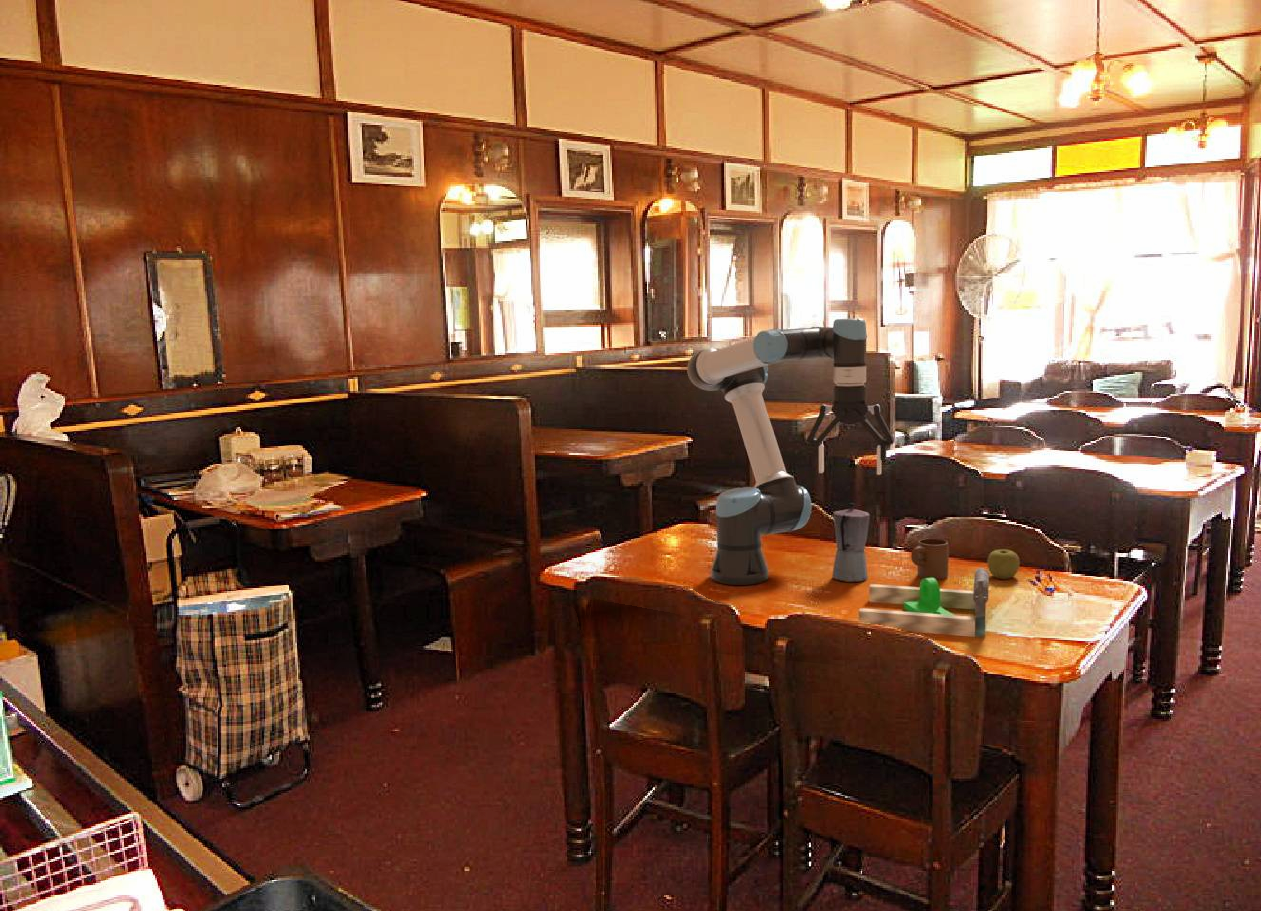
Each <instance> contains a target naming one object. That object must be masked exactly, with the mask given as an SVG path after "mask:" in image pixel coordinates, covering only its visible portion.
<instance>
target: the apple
mask: <svg viewBox="0 0 1261 911" xmlns="http://www.w3.org/2000/svg"><path fill="white" fill-rule="evenodd" d="M986 564H987V568H988V572H990V574H991V575H992V576H993V577H995V578H996V579H999V580H1000V579H1001V580H1008V579H1011V578H1013V577H1015V576H1016V574H1017V573H1018V571H1019V568H1020V564H1021V563H1020V557H1019V556H1018V554H1017V553H1016V552H1015V551H1013V550H1010V549H1005V548H1004V549H996V550H993V551H991V552H990V554H989V555H988V557H987V563H986Z"/></svg>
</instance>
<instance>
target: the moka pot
mask: <svg viewBox="0 0 1261 911" xmlns="http://www.w3.org/2000/svg"><path fill="white" fill-rule="evenodd" d="M855 505H856V504H855V503H854V502H850V503H848V506H849V508H848V509H842V510H837V511H836V510H835V511H833V513H832V515H833V521H834V522H833V524H834V534H835V541H836V548H837V549H836V553H835V558H834V564H833V569H832V570H833V571H832V577H833V579H834V580H837V581H842V582H846V583H849V582H850V583H853V582H854V583H856V582H864V581H866V580H867V579H868V577H869V576H868V567H867V559H866V551H865V549H866V544H867V539H868V534H869V533H868V532H869V526H870V525H869V524H870V518H871V515H870V513H869V512H868V511H863V510H859V509H855Z"/></svg>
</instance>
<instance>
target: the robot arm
mask: <svg viewBox="0 0 1261 911" xmlns="http://www.w3.org/2000/svg"><path fill="white" fill-rule="evenodd" d="M866 323H867V322H866V321H865V319H863V318H836V319H835V320H834V321H833V325H832V326H833V327H832V326H831V327H827V326H826V327H825V326H812V327H802V328H801V327H800V328H790V329H788V328H785V329H784V328H783V329H780V328H779V329H775V328H772V329H767V330H762V331H759V332H758V333H757V334H756V336H755V337H752V338H748V339H746V340H743V341H740V342H737V343H734V344H730V345H727V346H725V347H722V348H706V349H702V350H699V351H697V352H696V353H694V354H693V355H692V356H691V357H690V359H689V360H688V363H687V367H686V368H687V369H686V370H687V375H688V378H689V380H690V382H691V384H693V385H694V386H695V387H697V388H698V389H701V390H703V391H708V392H711V391H713V392H714V391H715V392H716V391H721V392H722V393H723V395H724V399H725V400H726V401H727V402H729V403H731V405H732V408H733V410H734V414H735V416H736V417H735V418H736V421H737V423H738V426H739V430H740V434H741V436H742V440H743V443H744V447H745V449H746V452H747V456H748V459H749V462H750V466H751V468H752V472H753V476H754V478H755V484H754V486H743V487H734V488H731V489H726V490H725V491H722V492H721V493H719V495H718V496H717V498H716V502H715V516H716V517H715V518H716V546H717V547H716V552H715V555H714V560H713V563H712V566H711V570H710V574H711V575H710V576H711V580H713V581H714V582H717V583H719V584H724V585H731V586H739V585H740V586H747V585H756V584H760V583H764V582H765V581H767V580H768V579H769V572H770V571H769V567H768V566H769V565H768V563H767V561H766V558H765V555H764V552H763V549H762V536H767V535H773V534H779V533H785V532H788V533H790V532H792V531H795V530H799V529H802V528H803V527H804V526H806V524H807V523H808V522H809V519H810V516H811V514H812V499H811V496H810V494H809V491H808V490H807V489H806V488H805V487H804V486H801V485H797V482H796V479H795V477H794V476H793V475H791V474H790V473H787V470H786V467H785V464H784V460H783V457H782V454H781V451H780V448H779V445H778V441H777V437H776V435H775V433H774V428H773V426H772V423H771V420H770V416H769V413H768V411H767V407H766V404H765V400H764V397H763V392H764V390H765V388H766V385H765V384H766V382H767V381H768V378H769V374H768V372H769V365H773V364H777V363H780V362H787V361H799V360H800V361H801V360H813V359H814V360H815V359H816V360H817V359H833V383H834V384H835V385H834V386H833V404H832V405H827V404H825V403H823V404H822V405H820V407H819V414H818V416H817V418H816V420H815V422H814V424H813V426H812V429H811V430H810V432H809V434H808V436H807V438H806V443H807V444H811V445H813V446H814V449H813V450H814V452H813V453H814V459H815V460H817V459H818V474H823V473H824V472H825V446H824V444H821V443H823V441H824V440H825V439H826V438H827V437H828V435H829V434H830V433H831V432H832V431H833V430H834V428H835V427H836V426H837V425H838V424H839V423H841V424H842V425H847V424H850V425H857V424H859V423H860V425H862V426H863V428H865V429H866V431H867V432H868V433H869V434H870V436H872V437H873V439H874V440H875V441H876V442H877V444H878V445H877V447H876V475H877V476H878V475H879V476H880V475H881V474H882V461H886V459H887V447H888V446H889V445H893V444H894V443H895V438H894V437H893V434H892V433H891V431H890V429H889V427H888V425H887V422H886V421H885V418H884V417H883V415H882V412H881V406H880V404H878V403H877V404H875V405H868V404H867V386H866V385H865V383H866V382H867V338H868V334H867V324H866ZM830 411H831V412H832V413H833V415H834V416H835V417H834V418H833V420H832V421H831V422H830V423H829V424H828V426H827V427H826V428H825V429H824V430H823V431H822V433H821V434H820V435H819V436H818V437H817V438H815V437H816V435H817V433H818V431H819V429H820V428H821V426H822V424H823V423H824V422H823V421H824V420H825V417H826V415H828V414H829V413H830ZM868 412H870V413H871V415H874V417H875V420H876V422H877V424H878V426H879V428H880V429H881V432H882V433H883V436H884V437H885V439H884V437H883V436H882V435H881V434H880V433H879V432H878V431H877V429H876V428H875V427H874V426H873V425H872V423H871V422H870V421H869V419H868V418H866V415H867V413H868Z"/></svg>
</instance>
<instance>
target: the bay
mask: <svg viewBox="0 0 1261 911" xmlns="http://www.w3.org/2000/svg"><path fill="white" fill-rule="evenodd" d="M989 575H990V574H989V570H987V569H986V568H983V567H979V568H977V569H976V570H975V572H974V578H973V579H974V580H973V590H961V589H952V588H951V589H949V588H946V589H945V588H940V605H941V607H942V608H948V609H949V608H951V609H963V610H975V611H974V613H975V614H974V616H967V615H965V616H963V615H955V614H954V615H942V614H929V613H916V612H909V611H902V610H887V609H875V608H863V607H860V608H859V610H858V623H859V622H864V623H870V624H878V625H883V626H889V627H893V628H897V629H901V630H906V631H905V632H908V631H912V632H911V633H924V634H932V635H933V634H936V635H945V636H948V635H949V636H958V637H959V636H961V637H970V638H971V637H972V638H986V613H987V612H986V610H987V609H986V608H987V603H988V601H989V583H990V581H989V579H990V578H989V577H990V576H989ZM868 596H869V597H868V598H869V600H868V601H869V602H868V603H878V604H879V603H880V604H881V603H882V604H893V605H895V604H896V605H904V602H910V601H920V586H919V587H918V586H907V585H906V586H904V585H893V584H892V585H891V584H875V583H870V585H869V595H868Z"/></svg>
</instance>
